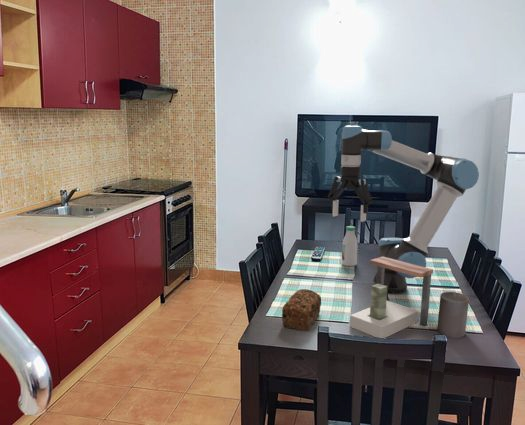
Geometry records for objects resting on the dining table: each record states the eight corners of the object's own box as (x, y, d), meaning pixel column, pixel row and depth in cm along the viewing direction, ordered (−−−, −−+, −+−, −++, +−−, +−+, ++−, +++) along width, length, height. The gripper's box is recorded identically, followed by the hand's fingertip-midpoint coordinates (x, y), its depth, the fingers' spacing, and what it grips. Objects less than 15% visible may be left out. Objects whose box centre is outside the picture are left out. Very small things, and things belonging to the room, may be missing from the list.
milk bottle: (358, 263, 267) (360, 226, 263) (353, 267, 260) (355, 229, 257) (345, 261, 271) (346, 224, 267) (339, 265, 264) (340, 227, 261)
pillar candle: (432, 327, 189) (436, 288, 186) (458, 326, 190) (462, 288, 187) (443, 338, 180) (447, 298, 176) (470, 338, 180) (474, 298, 177)
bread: (296, 310, 204) (296, 286, 202) (322, 314, 200) (323, 289, 198) (280, 327, 187) (280, 301, 185) (308, 332, 183) (309, 306, 181)
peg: (369, 327, 188) (371, 285, 185) (375, 324, 191) (378, 283, 188) (378, 330, 185) (380, 288, 182) (384, 327, 188) (387, 286, 185)
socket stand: (379, 307, 207) (382, 256, 203) (428, 324, 191) (433, 269, 187) (341, 323, 191) (343, 268, 187) (391, 343, 175) (395, 283, 171)
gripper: (319, 163, 208) (318, 215, 212) (372, 168, 190) (370, 224, 194) (331, 162, 213) (330, 212, 217) (383, 167, 195) (380, 221, 199)
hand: (348, 218), depth 206 cm, fingers open, 13 cm apart
